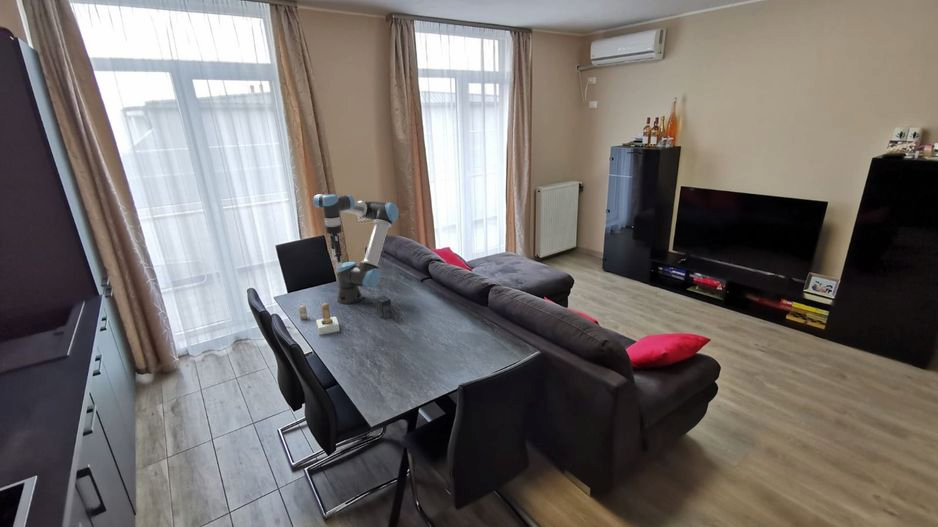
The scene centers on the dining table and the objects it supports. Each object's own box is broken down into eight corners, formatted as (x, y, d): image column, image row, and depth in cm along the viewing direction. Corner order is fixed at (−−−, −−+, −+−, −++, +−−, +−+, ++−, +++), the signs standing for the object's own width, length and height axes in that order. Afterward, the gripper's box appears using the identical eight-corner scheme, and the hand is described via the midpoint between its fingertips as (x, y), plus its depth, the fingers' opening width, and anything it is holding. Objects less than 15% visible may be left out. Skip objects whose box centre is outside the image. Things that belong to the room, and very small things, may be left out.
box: (392, 316, 230) (390, 299, 227) (383, 319, 227) (381, 301, 223) (385, 311, 236) (384, 294, 232) (376, 314, 232) (375, 297, 229)
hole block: (317, 326, 218) (316, 320, 217) (336, 323, 222) (335, 316, 221) (319, 334, 210) (318, 327, 208) (339, 330, 214) (338, 324, 212)
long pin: (324, 328, 217) (320, 303, 212) (331, 326, 218) (328, 302, 214) (324, 331, 214) (321, 306, 209) (332, 329, 215) (329, 305, 211)
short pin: (300, 317, 229) (298, 306, 226) (307, 316, 230) (305, 304, 228) (300, 320, 226) (299, 308, 223) (307, 318, 227) (306, 307, 225)
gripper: (322, 221, 220) (326, 258, 227) (329, 231, 199) (333, 272, 206) (336, 219, 224) (340, 256, 230) (344, 229, 202) (348, 270, 209)
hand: (337, 264), depth 218 cm, fingers open, 13 cm apart
